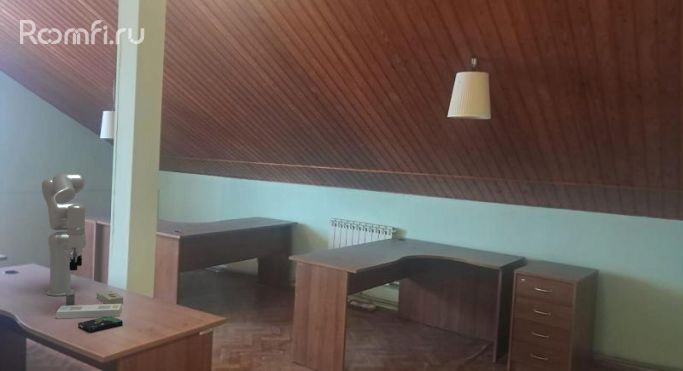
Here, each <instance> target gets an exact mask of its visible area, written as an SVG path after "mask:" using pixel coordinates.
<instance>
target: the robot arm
mask: <svg viewBox="0 0 683 371" xmlns="http://www.w3.org/2000/svg"><path fill="white" fill-rule="evenodd" d="M84 186H85V178H84V176H83V175H82V174H80V173H76V172H75V173H74V172H73V173H72V172H71V173H70V172H69V173H67V172H65V173H57V174H55V175H54V176H53V177H50V178H49V177H48V178H45V179H43V181H42V182H41V192H42V196H43V198H44V201H45V202H46V205H47V210H48V220H49V221H48V222H49V226H50V228H51V229H52V230H53V231H56V232H52V233H50V234H49V236H48V238H47V240H48V241H47V242H48V248H49V289H48V290H47V291H46V295H47V296H50V297H51V296H52V297H61V296H66V292H68V291H75V289H74V288H72V285H71V284H72V283H71V280H72V279H71V278H72V271H78V267H81V266H83V264H82V263H83V257H82V256H83V255H82V254H83V249H84V248H86V244H87V239H86V238H87V237H86V206H84V204H83V203H81V202H71V201H72V200H73V199H74V198H75V196H76V194H78V193H80V192H81V191H83V189H84ZM66 251H67V252H66Z"/></svg>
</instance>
